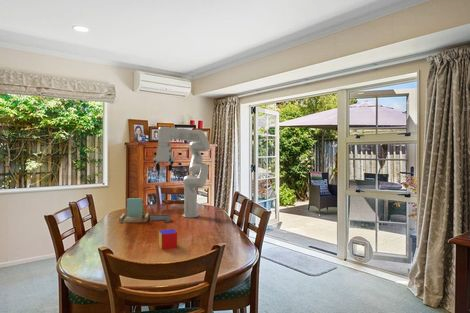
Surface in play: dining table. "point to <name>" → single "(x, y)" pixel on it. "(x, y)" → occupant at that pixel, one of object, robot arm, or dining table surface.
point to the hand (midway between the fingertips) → (163, 170)
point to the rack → (121, 219)
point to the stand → (160, 218)
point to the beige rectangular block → (133, 219)
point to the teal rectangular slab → (134, 207)
